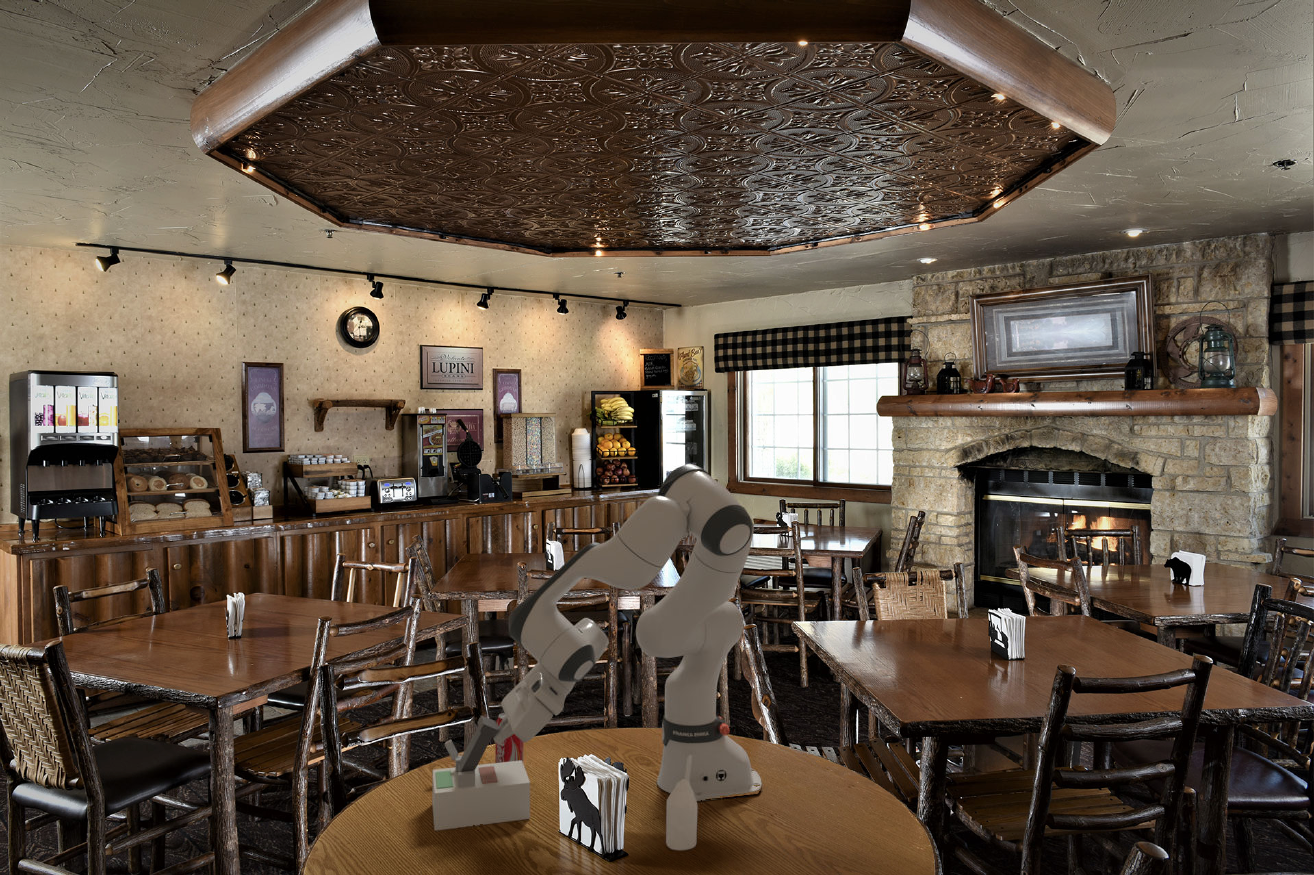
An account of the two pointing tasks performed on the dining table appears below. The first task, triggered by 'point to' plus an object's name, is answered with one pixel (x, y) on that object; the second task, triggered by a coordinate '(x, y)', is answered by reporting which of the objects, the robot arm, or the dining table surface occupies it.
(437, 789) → the breaker box
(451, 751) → the lighter
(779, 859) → the dining table surface
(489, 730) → the breaker lever
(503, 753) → the beverage can
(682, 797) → the white squeeze bottle
